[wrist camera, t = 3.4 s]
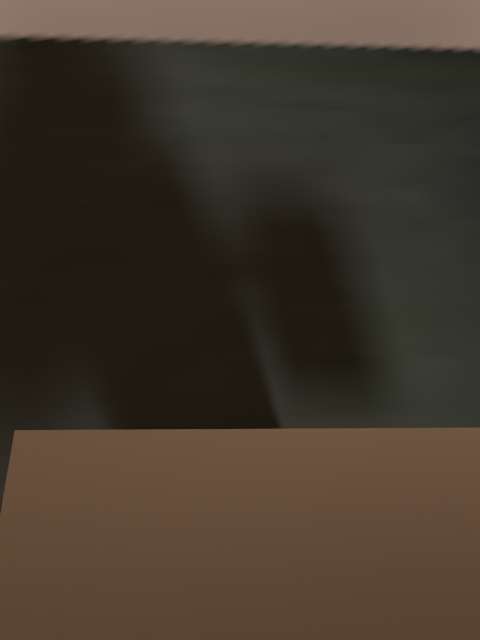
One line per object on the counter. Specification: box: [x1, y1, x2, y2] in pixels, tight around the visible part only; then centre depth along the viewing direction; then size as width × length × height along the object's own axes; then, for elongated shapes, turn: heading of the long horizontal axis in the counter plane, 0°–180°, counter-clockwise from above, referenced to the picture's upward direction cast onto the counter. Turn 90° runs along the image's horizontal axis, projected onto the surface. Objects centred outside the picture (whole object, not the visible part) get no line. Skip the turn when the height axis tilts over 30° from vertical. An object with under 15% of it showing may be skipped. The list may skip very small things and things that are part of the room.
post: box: [0, 428, 480, 640], centre depth 8 cm, size 4×4×13 cm
